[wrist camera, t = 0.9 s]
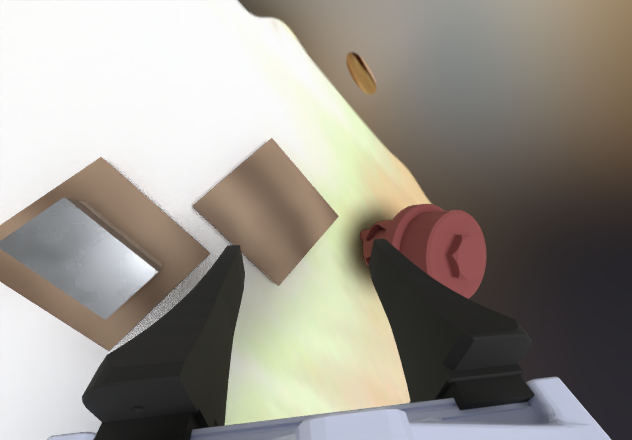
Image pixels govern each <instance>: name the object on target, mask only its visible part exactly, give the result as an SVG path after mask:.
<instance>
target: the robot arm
mask: <svg viewBox="0 0 632 440" xmlns="http://www.w3.org/2000/svg"><path fill="white" fill-rule="evenodd" d="M369 270H370V274H371V278H372V281H373V284H374V287H375V289H376V291H377V294H378V296H379V299H380V301H381V303H382V306H383V308H384V310H385V313H386V315H387V317H388V320H389V323H390V325H391V329H392V332H393V335H394V338H395V342H396V345H397V349H398V352H399V356H400V359H401V363H402V367H403V371H404V375H405V378H406V382H407V387H408V391H409V395H410V400H411V403H407V404H399V405H391V406H382V407H374V408H366V409H358V410H350V411H341V412H333V413H325V414H317V415H308V416H300V417H292V418H284V419H275V420H267V421H259V422H251V423H243V424H234V425H226V426H224V425H225V412H226V400H227V389H228V378H229V369H230V359H231V351H232V343H233V336H234V330H235V326H236V321H237V317H238V313H239V308H240V304H241V299H242V294H243V288H244V278H245V271H244V265H243V259H242V254H241V248H240V245H230V246H227V247H226V248H225V250H224V251H223V253H222V254H221V255H220V257H219V258H218V259H217V261H216V262H215V263H214V265H213V266H212V267H211V269H210V270H209V271H208V272H207V274H206V275H205V276H204V277H203V278H202V279H201V280H200V282H199V283H198V284H197V285H196V286H195V287H194V288H193V289H192V290H191V291H190V292H189V294H188V295H187V296H186V297H184V298H183V299H182V300H181V301H180V302H179V303H178V304H177V305H176V306H175V307H174V308H172V309H171V310H170V311H169V312H168V313H167V314H165V315H164V316H163V317H162V318H161V319H159V320H158V321H157V322H155V323H154V324H153V325H151V326H150V327H149V328H147V329H146V330H145V331H143V332H142V333H140V334H139V335H138V336H136V337H135V338H133V339H132V340H130V341H129V342H127V343H125V344H124V345H122V346H121V347H119V348H118V349H116V350H115V351H113V352H111V353H110V354H108V355H107V356H106V357H105V359H104V360H103V362H102V363H101V365H100V366H99V368H98V370H97V371H96V373H95V375H94V377H93V378H92V380H91V382H90V384H89V385H88V387H87V389H86V391H85V392H84V394H83V396H82V402H83V404H84V405H85V407H86V408H87V409H88V410H89V411H90V412H91V413H93V414H94V415H95V416H96V417H97V418H98V419H99V420H100V421H101V422H102V424H101V426H100V428H99V430H98V432H97V434H96V433H92V432H80V433H72V434H63V435H55V436H51V437H49V438H48V439H47V440H611V439H610V438H609V437H608V435H607V434H606V433H605V432H604V431H603V429H601V427H600V426H599V425H598V424H597V422H596V421H595V420H594V419H593V418H592V417H591V415H590V414H589V413H588V412H587V411H586V409H585V408H584V407H583V406H582V405H581V404H580V402H579V401H578V400H577V399H576V398H575V397H574V396H573V394H572V393H571V392H570V391H569V389H568V388H567V387H566V386H565V385H564V384H563V382H562V381H561V380H560V379H559V378H558V377H549V378H541V379H534V380H530V381H528V382H525V381H524V380H523V378H522V377H521V376H520V375H521V374H523V371H522V370H521V368H520V367H519V365H518V364H517V363H518V362H519V361H520V360H521V358H522V357H523V356H524V355H525V354H526V353H527V352H528V350H529V349H530V347H531V343H532V340H531V338H530V336H529V335H528V334H527V333H526V332H525V331H524V330H523V328H522V327H521V326H520V325H519V324H518V323H517V321H516V320H515V319H512V318H510V317H507V316H505V315H502V314H500V313H498V312H495V311H493V310H490V309H488V308H486V307H484V306H482V305H480V304H478V303H475V302H473V301H471V300H469V299H468V298H466V297H464V296H462V295H460V294H458V293H456V292H455V291H453V290H451V289H449V288H448V287H446V286H445V285H443V284H441V283H440V282H438V281H437V280H435V279H434V278H432V277H431V276H429V275H428V274H427V273H425V272H424V271H423V270H421V269H420V268H419V267H417V266H416V265H415V264H414V263H412V262H411V261H410V260H409V259H408V258H406V257H405V256H404V255H403V254H402V253H401V252H400V251H398V250H397V249H396V248H395V247H394V246H393V245H392V244H390V243H389V242H388V241H387V240H386V239H385V238H384V239H374V241H373V246H372V251H371V256H370V261H369Z"/></svg>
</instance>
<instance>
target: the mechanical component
mask: <svg viewBox="0 0 632 440" xmlns="http://www.w3.org/2000/svg"><path fill="white" fill-rule="evenodd" d="M360 238H361V240H362V242H363V243H364V244H363V255H364V259H365V262H366V264H367V266H368V268H369V261H370V256H371V251H372V246H373V241H374V239H384V238H385V239H386V240H387V241H388V242H389V243H390V244H392V245H393V246H394V247H395V248H396V249H397V250H398V251H400V252H401V253H402V254H403V255H404V256H405V257H406V258H408V259H409V260H410V261H411V262H412V263H414V264H415V265H416V266H417V267H419V268H420V269H421V270H423V271H424V272H425V273H427V274H428V275H429V276H431V277H432V278H434V279H435V280H437V281H438V282H440V283H441V284H443V285H445V286H446V287H448V288H449V289H451V290H453V291H455V292H456V293H458V294H460V295H462V296H464V297H466V298H468V299H469V298H470V297H471V296H472V295H473V294H474V293H475V291H476V290H477V289H478V287H479V285H480V283H481V281H482V278H483V275H484V271H485V266H486V245H485V240H484V237H483V234H482V231H481V229H480V227H479V225H478V223H477V222H476V220H475V219H474V218H473V217H472V216H471V215H469V214H468V213H466V212H464V211H459V210H452V211H444V210H443V209H441V208H440V207H438V206H435V205H432V204H420V205H412V206H409V207H407V208H405V209H403V210H402V211H400V212H399V213H398V214H397V215H396V216H395V217H394V219H393V220H383V221H379V222H377V223H375V224H374V225H373V226H372V227H371V228H370V229H369V230H368V229H365V230H363V231H362V232H361V234H360Z"/></svg>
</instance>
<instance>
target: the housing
mask: <svg viewBox="0 0 632 440" xmlns="http://www.w3.org/2000/svg"><path fill="white" fill-rule="evenodd" d="M0 249H1V250H3V251H4V252H6V253H7V254H9V255H10V256H12V257H13V258H15V259H16V260H17V261H19V262H20V263H22V264H23V265H25V266H26V267H28V268H29V269H31V270H32V271H34V272H35V273H37V274H38V275H40V276H41V277H43V278H44V279H46V280H47V281H48V282H50V283H51V284H53V285H54V286H56V287H57V288H59V289H60V290H62V291H63V292H65V293H66V294H68V295H69V296H71V297H72V298H74V299H75V300H77V301H78V302H79V303H81V304H82V305H84V306H85V307H87V308H88V309H90V310H91V311H93V312H94V313H96V314H97V315H99V316H100V317H102V318H103V319H105V320H106V319H107V318H108V317H110V316H111V315H112V314H113V313H114V312H115V311H116V310H117V309H118V308H119V307H120V306H122V305H123V304H124V303H125V302H126V301H127V300H128V299H129V298H130V297H131V296H132V295H134V294H135V293H136V292H137V291H138V290H139V289H140V288H141V287H142V286H143V285H144V284H146V283H147V282H148V281H149V280H150V279H151V278H152V277H153V276H154V275H155V274H156V273H158V271H159V270H160V269H161V268H162V266H163V265H164V264H163V263H162V262H161V261H159V260H158V259H157V258H156V257H154V256H153V255H152V254H151V253H149V252H148V251H147V250H146V249H145V248H143V247H142V246H141V245H140V244H138V243H137V242H136V241H135V240H133V239H132V238H131V237H130V236H129V235H127V234H126V233H125V232H124V231H122V230H121V229H120V228H119V227H117V226H116V225H115V224H114V223H113V222H111V221H110V220H109V219H108V218H106V217H105V216H104V215H103V214H102V213H100V212H99V211H98V210H97V209H95V208H94V207H93V206H92V205H90V204H89V203H88V202H83V201H79V200H75V199H71V198H67V197H63V198H62V199H60V200H59V201H57V202H56V203H54V204H53V205H51V206H50V207H49V208H47V209H46V210H44V211H43V212H41V213H40V214H39V215H37V216H36V217H34V218H33V219H31V220H30V221H29V222H27V223H26V224H24V225H23V226H21V227H20V228H18V229H17V230H16V231H14V232H13V233H11V234H10V235H8V236H7V237H6V238H4V239H3V240H1V241H0Z"/></svg>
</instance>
